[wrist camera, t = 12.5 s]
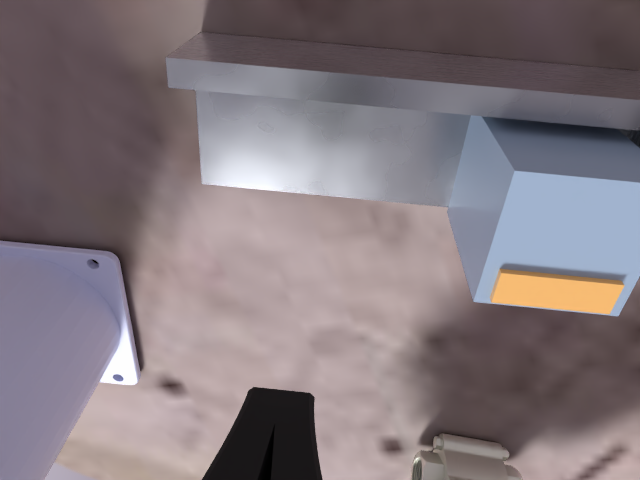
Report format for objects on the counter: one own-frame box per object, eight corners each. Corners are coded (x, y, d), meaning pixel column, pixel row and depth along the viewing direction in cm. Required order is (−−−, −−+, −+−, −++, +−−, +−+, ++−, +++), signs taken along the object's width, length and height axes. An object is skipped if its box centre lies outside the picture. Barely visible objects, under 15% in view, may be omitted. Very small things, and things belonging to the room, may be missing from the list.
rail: (208, 171, 19) (151, 269, 14) (200, 31, 16) (125, 86, 11) (687, 217, 19) (814, 333, 13) (761, 81, 16) (958, 162, 11)
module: (447, 212, 18) (474, 306, 14) (473, 103, 16) (517, 174, 11) (557, 223, 18) (621, 321, 14) (600, 115, 16) (691, 191, 11)
